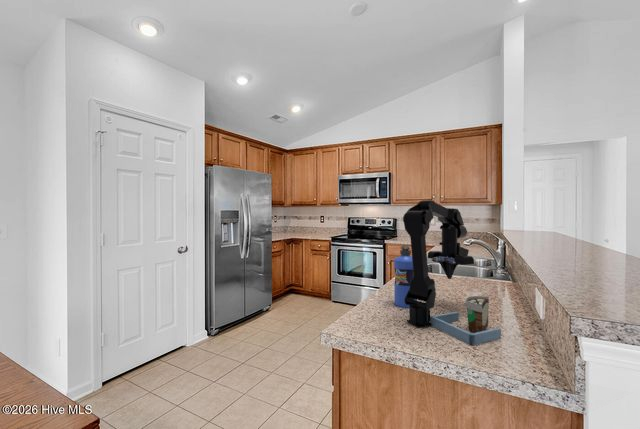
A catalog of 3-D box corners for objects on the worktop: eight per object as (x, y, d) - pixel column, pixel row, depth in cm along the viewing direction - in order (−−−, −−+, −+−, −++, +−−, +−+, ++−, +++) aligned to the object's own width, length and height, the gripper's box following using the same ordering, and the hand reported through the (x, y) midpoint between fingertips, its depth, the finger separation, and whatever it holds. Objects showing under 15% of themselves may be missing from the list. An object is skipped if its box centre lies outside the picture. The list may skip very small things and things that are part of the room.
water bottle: (409, 309, 118) (408, 247, 118) (389, 304, 126) (389, 245, 125) (421, 304, 125) (421, 245, 124) (402, 299, 132) (402, 243, 131)
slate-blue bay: (472, 345, 87) (472, 335, 87) (430, 325, 103) (430, 316, 103) (500, 338, 91) (500, 328, 91) (456, 319, 107) (456, 311, 107)
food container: (469, 321, 106) (469, 293, 106) (489, 325, 102) (489, 296, 102) (460, 333, 96) (460, 302, 96) (481, 338, 92) (481, 305, 92)
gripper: (484, 241, 114) (484, 281, 114) (446, 237, 131) (446, 272, 131) (462, 242, 110) (462, 284, 110) (426, 238, 127) (426, 274, 127)
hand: (449, 278), depth 120 cm, fingers closed
